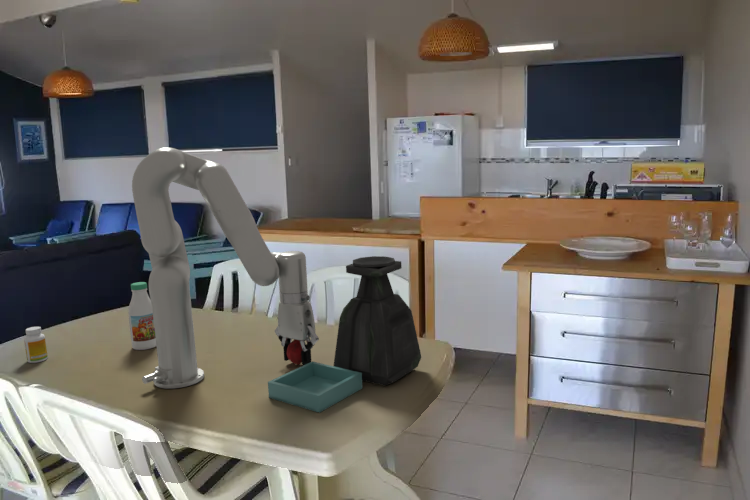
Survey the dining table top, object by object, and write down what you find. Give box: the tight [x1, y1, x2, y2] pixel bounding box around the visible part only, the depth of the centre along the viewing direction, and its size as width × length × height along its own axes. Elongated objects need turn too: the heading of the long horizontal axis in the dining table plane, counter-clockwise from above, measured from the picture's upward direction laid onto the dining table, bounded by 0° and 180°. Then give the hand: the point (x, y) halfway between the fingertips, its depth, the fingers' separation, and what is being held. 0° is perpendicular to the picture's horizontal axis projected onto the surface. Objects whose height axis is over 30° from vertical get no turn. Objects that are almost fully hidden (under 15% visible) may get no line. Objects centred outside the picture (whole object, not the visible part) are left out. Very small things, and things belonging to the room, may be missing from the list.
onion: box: [287, 339, 303, 366], centre depth 168 cm, size 6×6×8 cm
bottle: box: [333, 255, 422, 387], centre depth 158 cm, size 18×16×30 cm
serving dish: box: [267, 360, 363, 413], centre depth 149 cm, size 16×16×4 cm
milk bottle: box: [128, 281, 157, 351], centre depth 189 cm, size 8×8×20 cm
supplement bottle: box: [23, 326, 49, 364], centre depth 181 cm, size 5×5×10 cm
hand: (297, 360), depth 169 cm, fingers closed on onion, 5 cm apart
